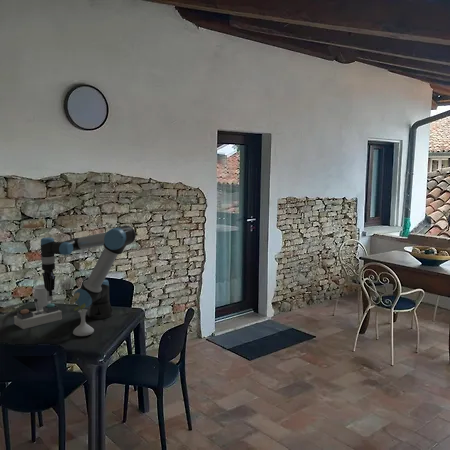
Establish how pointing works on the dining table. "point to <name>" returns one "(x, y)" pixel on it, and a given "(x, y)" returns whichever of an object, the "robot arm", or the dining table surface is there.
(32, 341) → the dining table surface
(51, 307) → the teal button
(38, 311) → the toggle lever
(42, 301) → the jar
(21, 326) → the console
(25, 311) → the terracotta button
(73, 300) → the flower in vase
